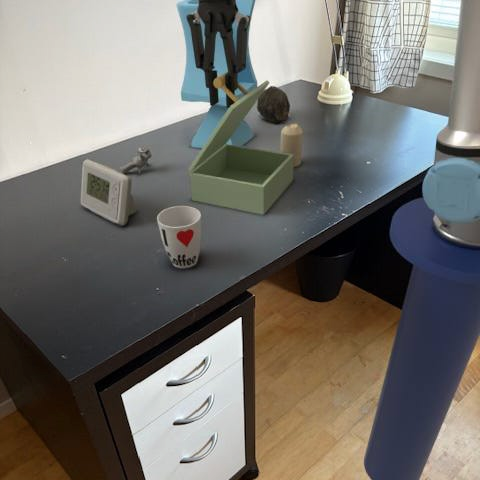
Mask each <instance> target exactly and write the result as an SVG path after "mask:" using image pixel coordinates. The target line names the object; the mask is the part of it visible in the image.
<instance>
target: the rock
mask: <svg viewBox="0 0 480 480" xmlns="http://www.w3.org/2000/svg"><path fill="white" fill-rule="evenodd" d="M256 103H257V104H256V110H257V112H259V115H260V116H262V117H263V118H264V119H265V120H267V121H269V122H272V123H280V122H284V121H286V120H287V119H288V118H289V113H290V110H291V109H290V108H291V104H290V101H289V98H288V95H287V94H286V92H285V91H284V90H283V89H281V88H279V87H277V86H274V85H270V86H269V87H268V88H265V90H264V91H263V93H262V94H261V95H260V97H259V98H258V100H257V102H256Z"/></svg>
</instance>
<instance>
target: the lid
mask: <svg viewBox="0 0 480 480" xmlns="http://www.w3.org/2000/svg"><path fill="white" fill-rule="evenodd" d="M227 73H228V72H226V73H224V74H223V75H221V76H219V77H218V78H216V79H214V82H213V84H214V86H215V87H216V88H217V89H219V88H221V89H222V90H223V91H224V92H225V93H226V94H227V95H228V96H229V97H230V98H231V99H232V100H233V101H234V102H235V103H234V104H233V105H231V106H230V108H229V109H228V111H227V112H226V114H225V115H224V117H223V118H222V120H221V121H220V123H219V124H218V126H217V127H216V129H215V130H214V132H213V133H212V135H211V136H210V138H209V139H208V141H207V142H206V144H205V145H204V147H203V148H201V150H200V151H199V153H198V154H197V156H196V157H195V158H194V160H193V162H192V163H191V165H190V166H189V168H188V169H187V171H188V172H189V173H191V172H192V171H193V170H194V169H196V168H197V167H198V166H199V165H200V164H202V163H203V162H204V161H205V160H207V159H208V158H209V157H210V156H211V155H213V154H214V153H215V152H216V151H218V150H219V149H220V148H221V147H223V146H224V145H225V144H226V143H227V142H228V141H229V139H230V138H231V136H232V135H233V134H234V132H235V131H236V129H237V128H238V126H239V125H240V124H241V122H242V121H243V120H244V119H245V118H246V117H247V116H248V114H249V113H250V111H251V109H252V108H253V107H254V105H255V104H256V103H257V102H258V98H259V97H260V95H261V94H262V93H263V92H264V90H265V89H267V87H268V86H269V84H270V81H269V80H268V79H267V80H265V81H264V82H262V83H260V84H259V85H257V88H255V89H254V90H252V91H251V92H250V93H248V92H247V91H246V90H245V89H244V88H243V87H242V86H241V85H240V84H239V83H238V89H239V90H240V91H241V92H242V93H243V94H244V95H245V96H244V97H242V98H241V99H240V100H239V99H238V98H237V97H236V96H235V95H234V94H233V93H232V92H231V91H229V90H228V89H227V88H226V87H225V86H224V85H225V75H226V74H227Z"/></svg>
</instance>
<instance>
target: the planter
mask: <svg viewBox="0 0 480 480" xmlns="http://www.w3.org/2000/svg"><path fill="white" fill-rule="evenodd" d="M255 3H256V0H236V5H237V8H238V12H239V13H241V14H243V15H244V16H247V15H248V16H250V18H251V20H250V23H249V26H248V29H247V54H246V68H245V69H244V70H243V71H241V72H239V73H238V83H239V84H240V85H241V86H242V87H243V88H244V89H245V90H246V91H247V92H248V93H250V92H251V91H252V90H254V89H255V88H257V87H258V80H257V77H256V75H255V71H254V68H253V64H252V60H251V56H250V46H249V40H250V29H251V22H252V17H253V12H254V8H255ZM198 5H199V0H182V1H179V2H177V3H176V8H177V12H178V16H179V19H180V23H181V27H182V31H183V36H184V43H185V68H184V75H183V81H182V85H181V88H180V89H181V90H180V97H181V98H180V99H181V101H182V102H189V103H209V104H210V96H209V88H206V85H205V73H204V71H203V70H202V69H200V68H199V69H198V68H196V65H195V58H194V50H193V43H192V36H191V29H190V26H189V24H188V21H187V18H186V17H187V15H189V14H192V13H194V12H196V11H197V8H198ZM200 23H201V28H202V36H203V44H204V48H205V36H204V30H205V25H204V23H203V21H202V20H201V22H200ZM232 28H233V40H234V46H235V52H236V40H237V28H238V26H236V19H235V21H234V23H233V25H232ZM214 67H215V68H214V69H212V70H217V78H218V77H219V76H221V75H223V74H224V73H226V72H228V68H227V63H226V57H225V52H224V46H223V41H222V38H221V36H220V32H217V35H216V41H215V54H214ZM224 86H225V85H224ZM225 87H226V86H225ZM235 96H236V97H237V98H238V99H239V100H240V99H241V98H242V97H244V96H245V95H244V94H243V93H242V92H241V91H240V90H239V89H238V88H237V90H235ZM218 98H219V102H218V103H217V104H215V105H214V106H210V107H209V108H208V111H207V113H206V115H205V116H204V118H203V120H202V122H201V123H200V125H199V127H198V129H197V131H196V132H195V134H194V136H193V138H192V139H191V141H190V147H191V148H197V149H202V148H203V147H204V145H205V144H206V142H207V141H208V139H209V138H210V136H211V135H212V133H213V132H214V130H215V129H216V127H217V126H218V124H219V123H220V121H221V120H222V118H223V117H224V115H225V114H226V112H227V111H228V109H229V108H227V107H226V93H225V92H224V91H223V90H222V89H221V88H219V89H218ZM253 137H254V131H253V130H252V128H250V126H249V125H248V124H247V122H246V121H245V120H244V119H243V121H242V122H241V124H240V125H239V126H238V128H237V129H236V131H235V132H234V134H233V135H232V136H231V138H230V139H229V141H228V142H227V143H226V144H229V145H235V146H242V147H244V146H245V144H246V143H248V142H249V141H250V140H251V139H253Z"/></svg>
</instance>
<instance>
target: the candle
mask: <svg viewBox="0 0 480 480" xmlns="http://www.w3.org/2000/svg"><path fill="white" fill-rule="evenodd" d="M303 134H304V133H303V129H302V128H301V127H300V126H299V124H297V123H292V124H288V125H285V126H284V127H282V129H281V130H280V152H281V153H287V154H294V163H293V168H295V167H298V166H300V165H301V163H302V149H303Z"/></svg>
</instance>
